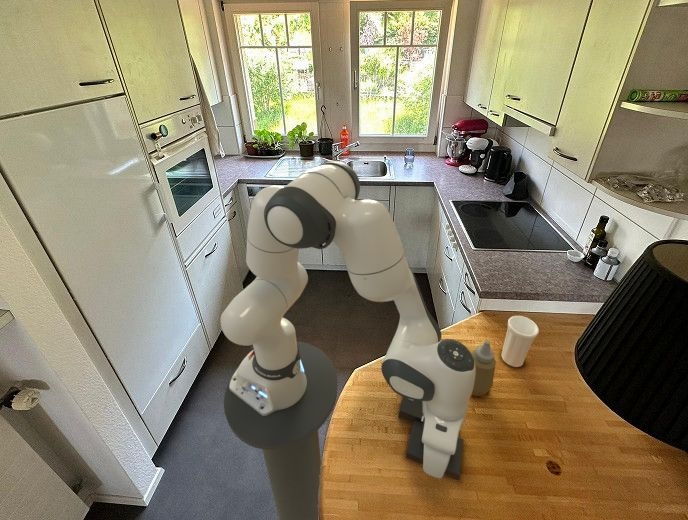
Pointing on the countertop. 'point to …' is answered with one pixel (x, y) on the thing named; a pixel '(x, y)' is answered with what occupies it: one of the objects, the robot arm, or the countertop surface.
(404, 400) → the control panel
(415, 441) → the power base
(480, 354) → the squeeze bottle
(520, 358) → the cup
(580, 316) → the countertop surface
